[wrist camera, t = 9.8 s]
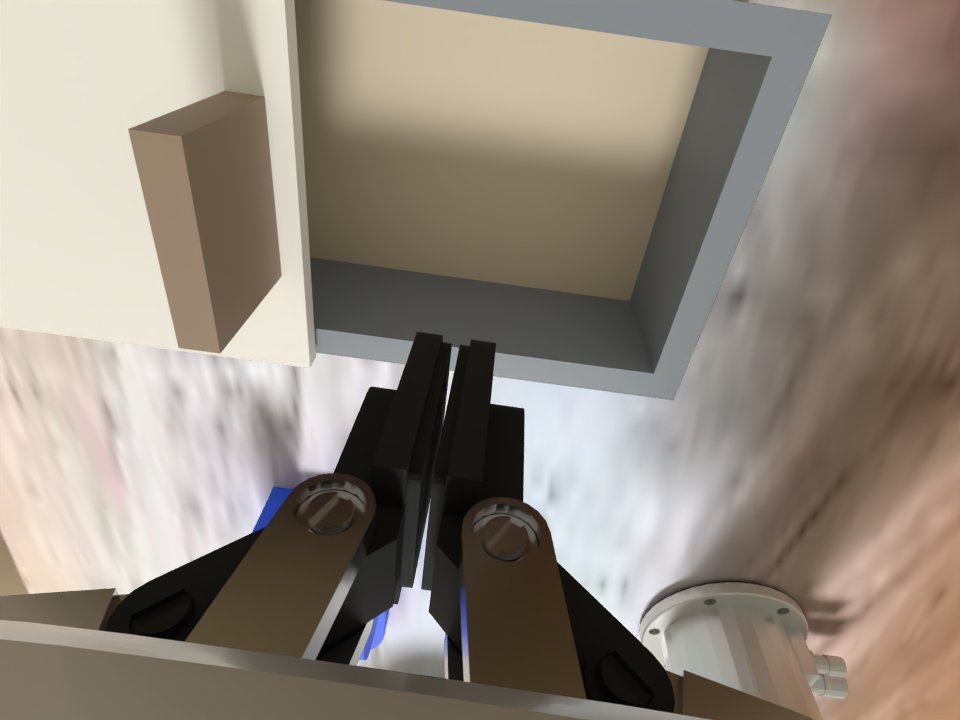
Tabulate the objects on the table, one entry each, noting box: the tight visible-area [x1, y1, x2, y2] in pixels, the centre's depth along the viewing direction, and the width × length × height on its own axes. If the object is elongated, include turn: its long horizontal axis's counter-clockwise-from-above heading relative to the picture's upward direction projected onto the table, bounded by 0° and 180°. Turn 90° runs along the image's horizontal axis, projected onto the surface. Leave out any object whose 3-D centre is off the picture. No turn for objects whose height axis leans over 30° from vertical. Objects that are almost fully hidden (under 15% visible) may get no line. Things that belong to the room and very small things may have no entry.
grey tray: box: [294, 0, 832, 400], centre depth 22 cm, size 22×14×7 cm, turn 83°
